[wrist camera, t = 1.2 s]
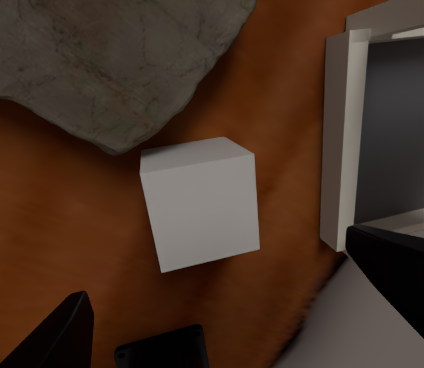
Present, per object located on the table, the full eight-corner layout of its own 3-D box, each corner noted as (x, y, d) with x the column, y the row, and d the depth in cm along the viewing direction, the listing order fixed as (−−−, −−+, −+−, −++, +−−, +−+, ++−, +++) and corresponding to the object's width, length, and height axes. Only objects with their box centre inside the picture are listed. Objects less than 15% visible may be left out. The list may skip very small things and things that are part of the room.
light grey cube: (230, 209, 18) (259, 249, 14) (157, 224, 17) (161, 272, 13) (223, 136, 17) (254, 154, 12) (141, 149, 16) (139, 174, 11)
